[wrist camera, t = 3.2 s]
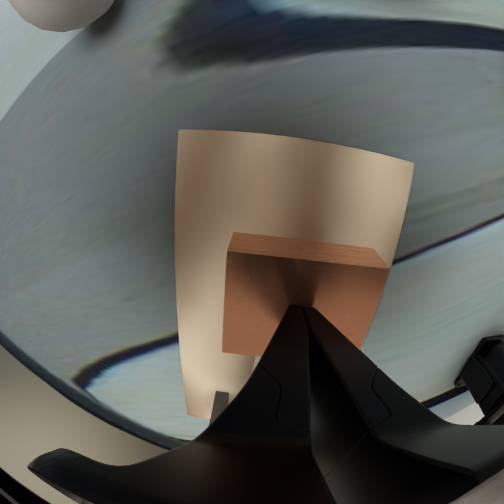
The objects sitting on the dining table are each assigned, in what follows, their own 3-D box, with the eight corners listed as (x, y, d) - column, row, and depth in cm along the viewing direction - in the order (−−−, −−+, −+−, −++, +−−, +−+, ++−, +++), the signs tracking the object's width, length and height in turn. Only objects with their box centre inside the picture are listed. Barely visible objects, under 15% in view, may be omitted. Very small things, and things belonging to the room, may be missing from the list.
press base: (402, 160, 13) (490, 183, 6) (320, 413, 22) (328, 482, 15) (187, 130, 13) (116, 123, 6) (191, 402, 22) (173, 471, 15)
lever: (368, 241, 10) (392, 271, 8) (289, 447, 17) (289, 473, 14) (235, 226, 10) (225, 253, 8) (223, 443, 17) (219, 469, 14)
